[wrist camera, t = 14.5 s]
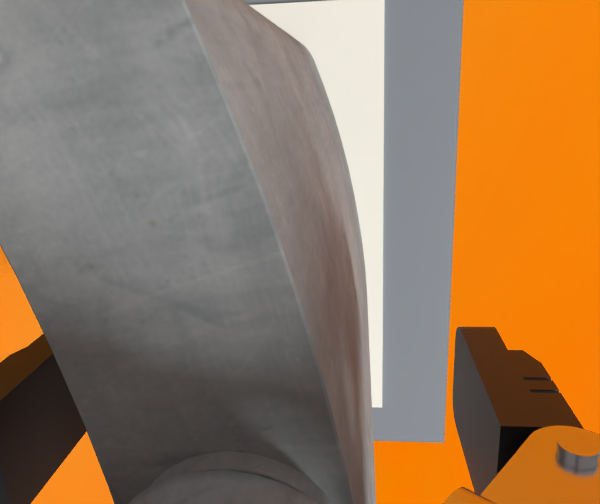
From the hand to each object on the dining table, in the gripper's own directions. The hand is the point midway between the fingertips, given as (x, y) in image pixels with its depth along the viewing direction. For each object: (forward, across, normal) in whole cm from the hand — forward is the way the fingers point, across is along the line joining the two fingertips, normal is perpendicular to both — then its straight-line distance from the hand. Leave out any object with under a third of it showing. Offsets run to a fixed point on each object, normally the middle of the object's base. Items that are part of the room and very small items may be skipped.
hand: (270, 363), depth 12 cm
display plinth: (+16, 0, 0) cm, 16 cm away
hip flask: (+13, 0, 0) cm, 13 cm away
